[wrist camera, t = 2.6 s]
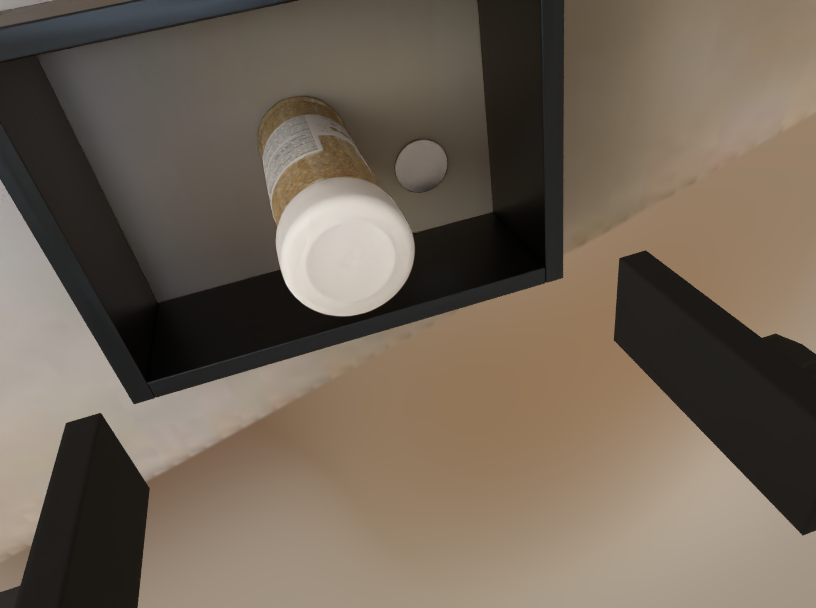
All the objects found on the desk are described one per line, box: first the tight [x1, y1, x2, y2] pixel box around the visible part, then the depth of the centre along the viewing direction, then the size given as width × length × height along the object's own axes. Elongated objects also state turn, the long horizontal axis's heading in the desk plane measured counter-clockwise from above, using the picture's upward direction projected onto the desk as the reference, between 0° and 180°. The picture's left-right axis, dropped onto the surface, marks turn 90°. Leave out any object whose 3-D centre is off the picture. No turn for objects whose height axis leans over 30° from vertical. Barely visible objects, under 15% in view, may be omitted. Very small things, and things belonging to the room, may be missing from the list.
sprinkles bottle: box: [258, 97, 415, 316], centre depth 25 cm, size 5×5×14 cm
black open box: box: [0, 0, 564, 404], centre depth 27 cm, size 22×16×7 cm
